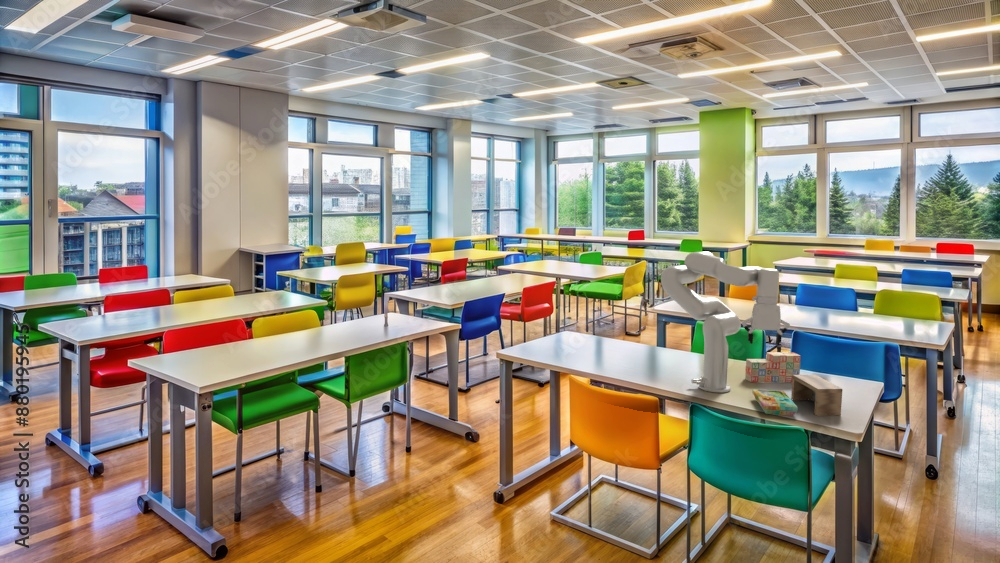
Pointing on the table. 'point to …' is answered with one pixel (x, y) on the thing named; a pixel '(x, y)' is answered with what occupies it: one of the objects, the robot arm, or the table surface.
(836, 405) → the low shelf
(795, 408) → the puzzle game
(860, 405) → the table surface
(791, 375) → the stack of blocks
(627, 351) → the table surface
